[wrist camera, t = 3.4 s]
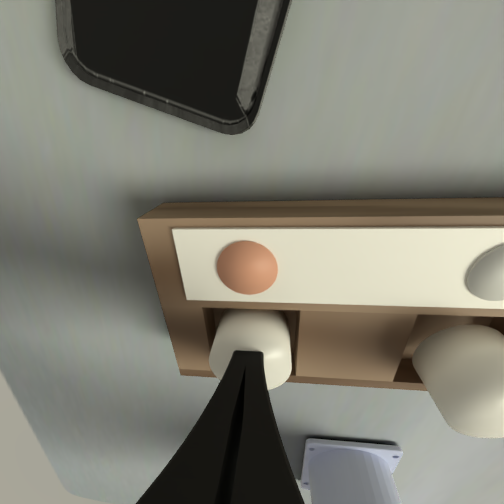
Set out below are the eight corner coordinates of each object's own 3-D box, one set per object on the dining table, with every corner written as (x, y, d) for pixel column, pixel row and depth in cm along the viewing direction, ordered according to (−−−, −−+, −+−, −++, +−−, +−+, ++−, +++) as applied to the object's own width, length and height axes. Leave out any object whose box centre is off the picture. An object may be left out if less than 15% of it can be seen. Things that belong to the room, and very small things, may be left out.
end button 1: (287, 352, 14) (290, 394, 12) (223, 349, 14) (213, 388, 12) (290, 300, 12) (293, 337, 10) (216, 298, 13) (203, 333, 10)
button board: (678, 365, 13) (759, 411, 11) (193, 342, 16) (180, 375, 14) (890, 191, 9) (1100, 210, 6) (163, 202, 12) (137, 218, 9)
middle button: (485, 384, 12) (534, 442, 10) (403, 379, 12) (431, 433, 10) (524, 326, 10) (595, 381, 8) (425, 322, 10) (466, 374, 8)
